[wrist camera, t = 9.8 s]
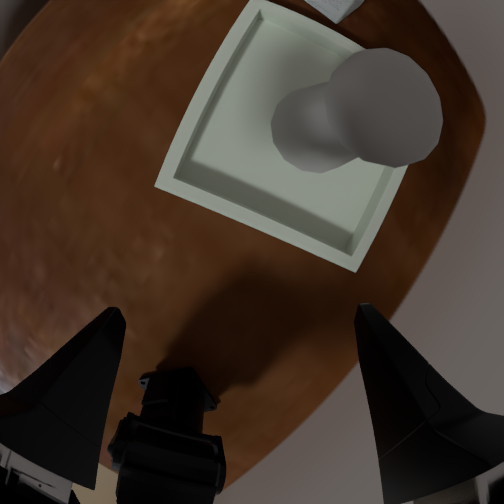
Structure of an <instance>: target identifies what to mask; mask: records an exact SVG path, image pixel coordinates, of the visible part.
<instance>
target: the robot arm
mask: <svg viewBox="0 0 504 504" xmlns="http://www.w3.org/2000/svg"><path fill="white" fill-rule="evenodd" d="M354 325H355V332H356V340H357V348H358V356H359V363H360V368H361V372H362V376H363V381H364V385H365V390H366V395H367V399H368V404H369V409H370V414H371V419H372V424H373V430H374V436H375V442H376V447H377V454H378V459H379V468H380V475H381V483H382V491H383V500H384V504H401V503H405V502H409V501H413V504H504V416H501V415H497V414H491V413H487V412H484V411H482V410H480V409H478V408H476V407H475V406H474V405H473V404H472V403H471V402H470V401H468V400H467V399H466V398H465V397H464V396H463V395H461V394H460V393H459V392H458V391H457V390H456V389H455V388H454V387H453V386H451V385H450V384H449V383H448V382H447V381H446V380H445V379H444V378H443V377H442V376H441V375H440V374H439V373H438V372H437V371H436V370H435V369H434V368H433V367H432V366H431V365H430V364H429V363H428V361H427V360H426V359H425V358H424V357H423V356H422V355H421V354H420V353H419V352H418V351H417V350H416V349H415V348H414V347H413V346H412V345H411V344H410V343H409V342H408V341H407V340H406V339H405V338H404V337H403V336H402V335H401V333H400V332H399V331H398V330H397V329H395V328H394V327H393V326H392V324H391V323H390V322H389V321H388V320H387V319H386V318H385V317H384V316H383V315H382V314H381V313H380V312H379V311H378V310H377V309H376V308H375V307H373V306H372V305H371V304H370V303H362V304H359V305H358V308H357V312H356V316H355V321H354ZM125 330H126V321H125V319H124V317H123V315H122V313H121V311H120V309H119V308H118V307H108V308H107V309H106V310H104V311H103V312H102V313H101V314H100V315H98V316H97V317H96V318H95V319H94V320H92V321H91V322H90V323H89V324H88V325H87V326H85V327H84V328H83V329H82V330H81V331H80V332H79V333H77V334H76V335H75V336H74V337H73V338H72V339H70V340H69V341H68V342H67V343H66V344H65V345H64V346H63V347H61V348H60V349H59V350H58V351H57V352H56V353H55V354H54V355H52V356H51V357H50V358H49V359H48V360H47V361H46V362H45V363H44V364H42V365H41V366H40V367H39V368H38V369H37V370H36V371H34V372H33V373H32V374H31V375H29V376H28V377H27V378H26V379H24V380H23V381H22V382H21V383H19V384H18V385H17V386H16V387H14V388H13V389H12V390H10V391H9V392H7V393H4V394H1V395H0V504H80V502H79V500H78V499H77V497H76V495H75V493H74V491H73V490H72V489H71V488H72V483H73V482H74V483H76V484H78V485H81V486H83V487H86V488H89V489H91V490H95V484H96V476H97V469H98V463H99V456H100V450H101V448H100V447H101V444H102V438H103V433H104V428H105V423H106V418H107V413H108V408H109V404H110V399H111V395H112V391H113V387H114V383H115V379H116V375H117V371H118V367H119V363H120V359H121V353H122V347H123V341H124V336H125ZM189 372H192V373H189ZM139 384H140V385H141V387H142V388H143V389H144V391H145V393H144V397H143V400H142V405H143V407H142V410H141V414H140V416H137V415H134V413H131V412H128V414H127V417H124V419H123V420H120V422H119V425H118V428H117V431H116V433H115V435H114V437H113V438H112V440H111V442H110V443H109V445H108V449H107V451H108V453H109V454H110V456H111V462H112V469H113V470H116V471H118V472H119V475H118V481H117V487H116V497H117V500H116V501H117V504H213V501H214V497H215V494H216V495H219V494H220V493H221V491H222V489H223V486H224V483H225V478H226V461H225V456H224V450H223V444H222V438H221V436H216V435H215V436H212V435H207V434H202V429H203V416H204V412H207V411H213V410H216V409H217V404H216V402H215V401H214V399H213V398H212V396H211V395H210V393H209V392H208V390H207V389H206V387H205V385H204V384H203V382H202V381H201V379H200V377H199V376H198V374H197V373H196V371H195V370H194V369H193V368H191V367H187V368H183V369H179V370H174V371H169V372H164V373H160V374H155V375H150V376H145V377H141V378H140V379H139Z"/></svg>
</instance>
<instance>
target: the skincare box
mask: <svg viewBox="0 0 504 504" xmlns="http://www.w3.org/2000/svg"><path fill="white" fill-rule="evenodd" d="M304 1H306V2H307V3H309V4H310V5H312V6H313V7H314V8H316V9H317V10H318V11H320V12H321V13H322V14H324V15H325V16H326V17H328V18H329V19H330V20H331V21H333V22H334V23H335V24H337V23H339V22H340V21H341V20H343V19H344V18H345V17H347V16H348V15H349V14H350V13H352V12H353V11H354V10H355V9H357V8H358V7H359V6H360V5H361V4H362V3H363V1H364V0H304Z"/></svg>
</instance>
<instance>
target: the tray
mask: <svg viewBox="0 0 504 504" xmlns="http://www.w3.org/2000/svg"><path fill="white" fill-rule="evenodd" d="M362 50H366V49H365V48H363V47H361V46H360V45H358V44H356V43H355V42H353V41H351V40H350V39H348V38H346V37H344V36H343V35H341V34H339V33H337V32H335V31H333V30H331V29H330V28H328V27H326V26H324V25H322V24H320V23H318V22H316V21H314V20H311V19H309V18H307V17H305V16H303V15H301V14H298V13H296V12H294V11H291V10H289V9H287V8H284V7H282V6H279V5H277V4H274V3H271V2H269V1H266V0H250V1H249V2H248V4H247V5H246V7H245V8H244V10H243V11H242V13H241V14H240V16H239V17H238V19H237V20H236V22H235V23H234V25H233V27H232V28H231V30H230V31H229V33H228V35H227V36H226V38H225V40H224V41H223V43H222V45H221V46H220V48H219V50H218V52H217V53H216V55H215V57H214V59H213V60H212V62H211V64H210V66H209V68H208V70H207V71H206V73H205V75H204V77H203V79H202V81H201V83H200V85H199V87H198V88H197V90H196V92H195V94H194V96H193V98H192V100H191V102H190V105H189V107H188V109H187V111H186V113H185V115H184V117H183V119H182V121H181V124H180V126H179V128H178V130H177V132H176V135H175V137H174V139H173V142H172V144H171V146H170V149H169V151H168V153H167V156H166V158H165V161H164V163H163V165H162V168H161V170H160V173H159V176H158V178H157V181H156V183H155V186H154V187H157V188H159V189H162V190H164V191H167V192H169V193H172V194H174V195H177V196H179V197H182V198H184V199H186V200H189V201H191V202H194V203H196V204H199V205H201V206H203V207H206V208H208V209H211V210H213V211H215V212H218V213H220V214H223V215H225V216H227V217H230V218H232V219H234V220H237V221H239V222H241V223H244V224H246V225H249V226H251V227H253V228H256V229H258V230H260V231H262V232H265V233H267V234H269V235H272V236H274V237H276V238H279V239H281V240H283V241H286V242H288V243H290V244H292V245H295V246H297V247H299V248H301V249H304V250H306V251H308V252H310V253H313V254H315V255H317V256H319V257H322V258H324V259H326V260H328V261H331V262H333V263H335V264H337V265H339V266H342V267H344V268H346V269H348V270H351V271H353V272H355V273H356V271H357V270H358V268H359V266H360V264H361V262H362V260H363V259H364V257H365V255H366V253H367V251H368V249H369V247H370V245H371V244H372V242H373V240H374V238H375V236H376V234H377V232H378V230H379V228H380V226H381V224H382V222H383V220H384V218H385V216H386V213H387V211H388V209H389V207H390V205H391V203H392V201H393V199H394V196H395V194H396V192H397V190H398V188H399V185H400V183H401V181H402V178H403V176H404V174H405V171H406V169H407V167H408V165H406V166H402V167H397V168H393V167H388V166H384V165H380V164H375V163H371V162H366V161H363V160H362V159H360V158H359V157H358V158H356V159H354V160H352V161H350V162H348V163H346V164H344V165H342V166H340V167H338V168H335V169H332V170H329V171H327V172H324V173H315V172H308V171H301V170H300V169H298V168H297V167H295V166H293V165H292V164H290V163H289V162H287V161H285V160H284V159H283V157H282V155H281V154H280V152H279V151H278V149H277V148H276V146H275V145H274V143H273V138H272V131H271V120H272V117H273V114H274V111H275V109H276V106H277V104H278V103H279V102H280V101H281V100H282V99H283V98H285V97H286V96H287V95H288V94H289V93H290V92H292V91H295V90H298V89H302V88H306V87H309V86H313V85H317V84H321V83H325V82H329V80H330V77H331V74H332V72H333V71H334V70H335V69H336V68H337V67H339V66H340V65H341V64H342V63H343V62H344V61H345V60H347V59H348V58H349V57H350V56H351V55H352V54H354V53H356V52H359V51H362Z"/></svg>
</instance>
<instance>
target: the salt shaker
mask: <svg viewBox="0 0 504 504" xmlns="http://www.w3.org/2000/svg"><path fill="white" fill-rule="evenodd" d="M442 124H443V117H442V110H441V103H440V97H439V95H438V93H437V91H436V89H435V87H434V85H433V83H432V82H431V80H430V78H429V76H428V74H427V73H426V72H425V71H424V70H423V69H422V68H421V67H420V66H419V65H418V64H416V63H415V62H414V61H413V60H412V59H411V58H410V57H409V56H407V55H404V54H402V53H399V52H396V51H394V50H391V49H388V48H377V49H366V50H362V51H359V52H356V53H354V54H352V55H351V56H350V57H349V58H348V59H347V60H345V61H344V62H343V63H342V64H341V65H340V66H339V67H337V68H336V69H335V70H334V71H333V72H332V74H331V77H330V80H329V82H325V83H321V84H317V85H313V86H309V87H306V88H302V89H298V90H295V91H292V92H290V93H289V94H288V95H287V96H286V97H285V98H283V99H282V100H281V101H280V102H279V103H278V104H277V106H276V109H275V111H274V114H273V117H272V120H271V131H272V138H273V143H274V145H275V146H276V148H277V149H278V151H279V152H280V154H281V155H282V157H283V159H284V160H285V161H287V162H289V163H290V164H292V165H293V166H295V167H297V168H298V169H300V170H301V171H308V172H315V173H324V172H327V171H329V170H332V169H335V168H338V167H340V166H342V165H344V164H346V163H348V162H350V161H352V160H354V159H356V158H358V157H359V158H360V159H362V160H363V161H366V162H371V163H375V164H380V165H384V166H388V167H393V168H397V167H402V166H406V165H409V164H412V163H414V162H417V161H420V160H423V159H425V158H426V157H427V156H428V155H429V153H430V152H431V151H432V150H433V149H434V148H435V146H436V145H437V144H438V142H439V137H440V133H441V128H442Z"/></svg>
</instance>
